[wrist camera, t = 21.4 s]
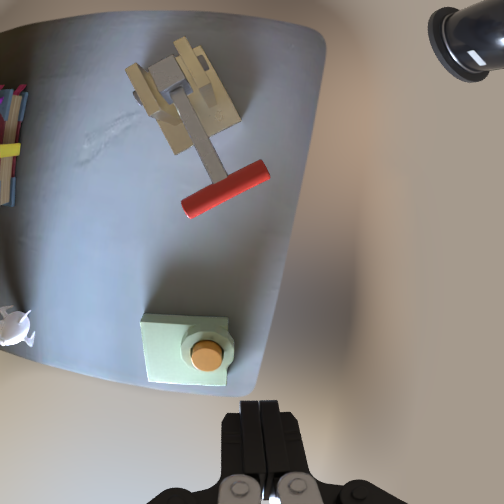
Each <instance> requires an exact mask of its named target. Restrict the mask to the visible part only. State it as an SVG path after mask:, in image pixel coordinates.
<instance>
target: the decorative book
mask: <svg viewBox="0 0 504 504" xmlns="http://www.w3.org/2000/svg"><path fill="white" fill-rule="evenodd" d="M26 85H27V84H25V85H19V87H18V88H17V89H16V90H15V91H14V90H13V89H5V90H1V89H2V88H3V86H4V85H0V205H5V206H10V207H13V206H15V183H16V177H15V165H16V156H18V155H19V153H20V145H21V143H18V140H19V133H20V126H21V121H23V117H24V112H25V107H26V102H27V97H28V93H29V92H21V91H22V90H23V89H24V88H25V86H26ZM13 91H14V92H13Z"/></svg>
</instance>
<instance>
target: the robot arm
mask: <svg viewBox="0 0 504 504" xmlns="http://www.w3.org/2000/svg"><path fill="white" fill-rule="evenodd" d="M440 35H441V40H442V43H443V45H444V47H445V49H446V51H447V53H448V55H449V56H450V58H451V59H452V60H453V61H454V62H455V63H456V64H457V65H458V66H459V67H460V68H461V69H463V70H464V71H466V72H469V73H480V72H483V71H492V70H499V69H504V0H484V1H481V2H479V3H476V4H474V5H471V6H469V7H467V8H464V9H462V10H459V11H457V12H455V13H451V14H449V15H447V16H445V17H444V18H443V19H442V21H441V24H440ZM221 429H222V430H221V477H220V479H219V481H218V482H217V483H216V484H215V485H214V486H212V487H211V488H209V489H205V490H202V491H197V492H192V493H191V492H190V491H188V490H186V489H183V488H170V489H166V490H164V491H163V492H161V493H160V494H159V495H157V496H156V497H155V498H153V499H152V500H151V501H150V502H148V503H147V504H261V499H262V496H263V500H270V504H407V503H406V502H404V501H402V500H400V499H398V498H396V497H394V496H393V495H391V494H389V493H387V492H386V491H384V490H382V489H380V488H378V487H377V486H375V485H373V484H372V483H370V482H368V481H365V480H352V481H349V482H348V483H346V484H345V485H344V486H342V485H333V484H326V483H323V482H320V481H318V480H317V479H315V478H314V477H313V476H312V475H311V473H310V471H309V468H308V464H307V460H306V455H305V451H304V447H303V442H302V438H301V434H300V430H299V425H298V421H297V419H296V418H295V417H294V416H293V415H292V413H291V412H280V411H279V405H278V401H277V400H266V401H265V400H264V401H263V400H261V401H259V403H258V401H240V407H239V413H227V414H226V415H225V417H224V419H223V421H222V428H221Z"/></svg>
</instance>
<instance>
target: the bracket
mask: <svg viewBox="0 0 504 504" xmlns="http://www.w3.org/2000/svg"><path fill="white" fill-rule="evenodd" d="M173 44H174V46H175V47H176V49H177V51H178V53H179V56H177V57H175V58H176V60H177V62H178V63H179V65H180V67H181V69H182V70H183V72H184V74H185V76H186V78H187V80H188V82H189V83H190V85H191V87H192V89H193V93H191V94H189V95H187V96H188V98H189V100H190V102H191V103H192V105H193V107H194V109H195V111H196V113H197V115H198V117H199V119H200V121H201V123H202V125H203V127H204V129H205V131H206V133H207V135H208V137H209V138H210V137H211V136H213V135H215V134H217V133H219V132H221V131H223V130H225V129H227V128H229V127H231V126H233V125H235V124H237V123H239V122H241V121H242V120H241V118H240V116H239V114H238V112H237V110H236V108H235V107H234V105H233V103H232V101H231V99H230V97H229V95H228V93H227V92H226V90H225V88H224V86H223V84H222V82H221V81H220V79H219V77H218V75H217V73H216V72H215V70H214V68H213V66H212V64H211V63H210V61H209V59H208V57H207V55H206V54H205V52H204V50H203V48H202V47H201V45H199V46H197V47H195V48H193V49H192V47H191V46H190V44H189V42H188V40H187V39H186V37H185V36H184V37H182V38H180V39H178V40H176V41H174V42H173ZM125 71H126V73H127V75H128V77H129V79H130V81H131V83H132V85H133V87H134V89H135V91H134V92H133V95H134V97H135V99H136V101H137V102H138V104H139V105H140V106H144V108H145V110H146V112H147V114H148V116H149V117H152V118H155V119H156V121H157V122H158V124H159V126H160V128H161V130H162V132H163V134H164V136H165V138H166V140H167V141H168V143H169V145H170V147H171V149H172V151H173V153H174V155H178V154H180V153H182V152H183V151H185V150H187V149H189V148H191V147H193V146H194V144H193V142H192V140H191V138H190V136H189V134H188V132H187V130H186V128H185V126H184V124H183V122H182V119H181V117H180V115H179V113H178V111H177V109H176V107H175V105H174V103H172V104H170V105H169V104H168V103H167V102H166V101H165V99H164V98H163V97H162V96H161V94H160V93H159V92H158V90H157V87H156V85H155V83H154V81H153V79H152V77H151V75H150V72H146V71H145V70H144V69H143V68H142V67H141V66H140V65H138V64H137V63H134V64H133V65H131V66H129V67H128V68H126V69H125Z"/></svg>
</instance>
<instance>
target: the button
mask: <svg viewBox="0 0 504 504" xmlns="http://www.w3.org/2000/svg"><path fill="white" fill-rule="evenodd" d="M191 360H192V363H193V365H194V366H195V367H196V368H197V369H199V370H201V371H206V372H209V371H214V370H216V369H218V368H219V367H220V365H221V363H222V349H221V347H220V346H219V345H218V344H217V343H215V342H213V341H210V340H203V341H200V342H198V343H196V344H195V346H194V347H193V351H192V358H191Z"/></svg>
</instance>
